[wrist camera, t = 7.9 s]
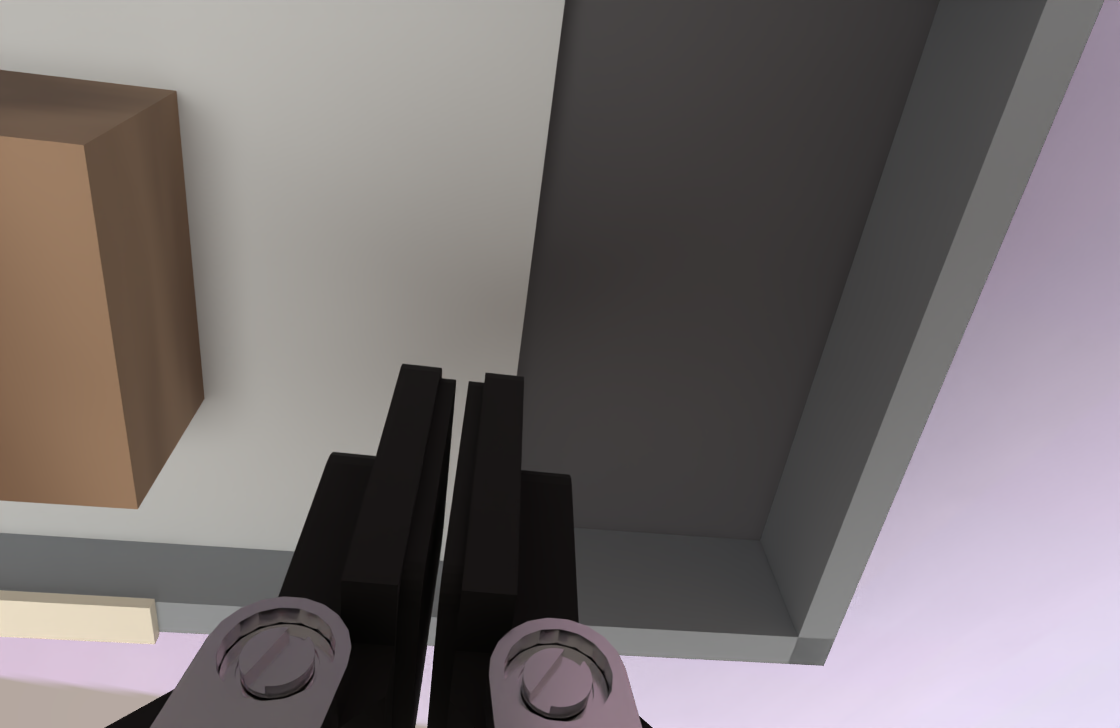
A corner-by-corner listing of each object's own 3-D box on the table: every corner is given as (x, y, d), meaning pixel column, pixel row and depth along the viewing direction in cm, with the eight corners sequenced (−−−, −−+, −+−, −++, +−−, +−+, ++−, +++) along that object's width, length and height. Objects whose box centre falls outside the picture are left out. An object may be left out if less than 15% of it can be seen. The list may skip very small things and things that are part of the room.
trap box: (1003, -107, 17) (1161, -107, 13) (774, 551, 26) (826, 677, 22) (-954, -438, 13) (-1623, -592, 9) (-443, 470, 22) (-665, 604, 18)
